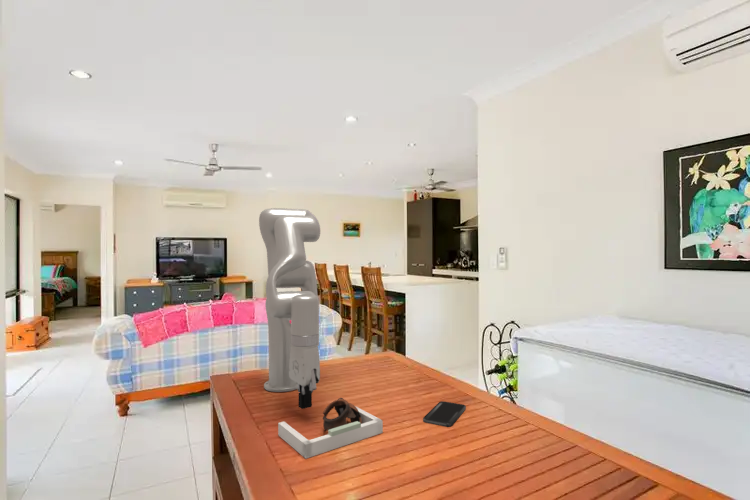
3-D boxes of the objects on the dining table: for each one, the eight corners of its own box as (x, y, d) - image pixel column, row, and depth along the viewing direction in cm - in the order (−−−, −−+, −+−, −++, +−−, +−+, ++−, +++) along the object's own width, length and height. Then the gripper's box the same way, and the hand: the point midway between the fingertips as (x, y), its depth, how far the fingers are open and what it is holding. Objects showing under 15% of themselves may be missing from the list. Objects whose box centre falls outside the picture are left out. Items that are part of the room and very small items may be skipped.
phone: (421, 419, 107) (440, 400, 120) (421, 423, 107) (440, 404, 120) (450, 424, 103) (467, 405, 116) (450, 429, 103) (467, 409, 116)
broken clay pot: (369, 435, 100) (355, 411, 98) (334, 454, 99) (319, 430, 97) (359, 406, 112) (347, 383, 109) (328, 423, 111) (315, 400, 108)
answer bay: (278, 435, 100) (278, 418, 100) (350, 414, 112) (350, 399, 112) (305, 458, 88) (305, 440, 88) (382, 432, 101) (382, 416, 101)
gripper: (280, 337, 115) (280, 401, 115) (305, 347, 103) (305, 420, 103) (304, 333, 120) (305, 396, 120) (331, 343, 108) (331, 412, 108)
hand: (305, 407), depth 111 cm, fingers closed
